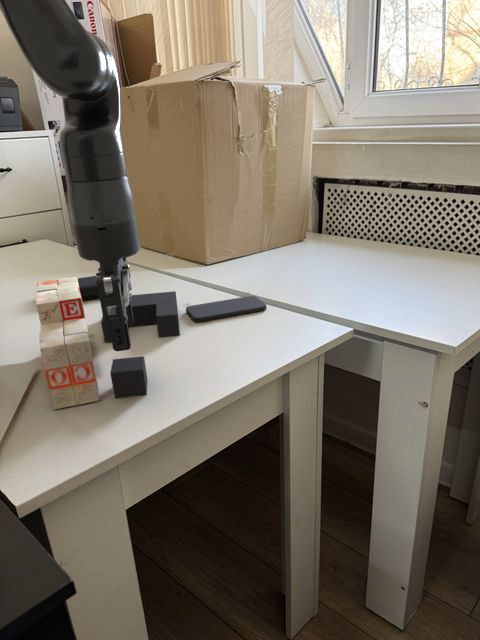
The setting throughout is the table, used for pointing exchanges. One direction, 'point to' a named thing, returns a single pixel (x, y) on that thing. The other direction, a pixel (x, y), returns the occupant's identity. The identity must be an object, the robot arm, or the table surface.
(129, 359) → the square block
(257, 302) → the phone
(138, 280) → the table surface
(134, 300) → the notched block
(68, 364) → the stack of blocks
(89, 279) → the carrying case
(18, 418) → the table surface
